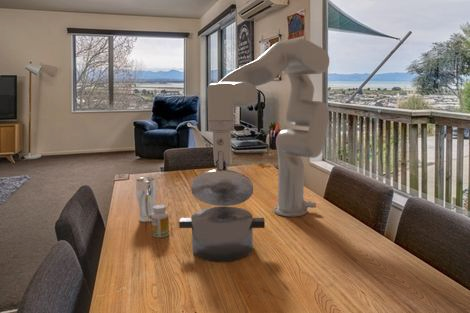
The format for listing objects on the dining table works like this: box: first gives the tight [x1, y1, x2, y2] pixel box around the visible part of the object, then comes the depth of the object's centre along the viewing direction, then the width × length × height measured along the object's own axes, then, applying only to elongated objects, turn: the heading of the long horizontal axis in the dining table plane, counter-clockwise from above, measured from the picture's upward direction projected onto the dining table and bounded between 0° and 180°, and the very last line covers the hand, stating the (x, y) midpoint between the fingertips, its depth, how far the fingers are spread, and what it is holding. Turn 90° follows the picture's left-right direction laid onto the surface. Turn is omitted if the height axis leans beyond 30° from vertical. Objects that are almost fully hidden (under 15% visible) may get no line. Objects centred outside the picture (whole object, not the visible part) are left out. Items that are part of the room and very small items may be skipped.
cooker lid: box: [190, 169, 254, 207], centre depth 113 cm, size 19×19×3 cm
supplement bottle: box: [151, 204, 170, 239], centre depth 121 cm, size 5×5×10 cm
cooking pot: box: [178, 206, 266, 263], centre depth 111 cm, size 25×18×10 cm
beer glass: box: [135, 176, 157, 223], centre depth 135 cm, size 7×7×15 cm
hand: (223, 185), depth 113 cm, fingers closed
